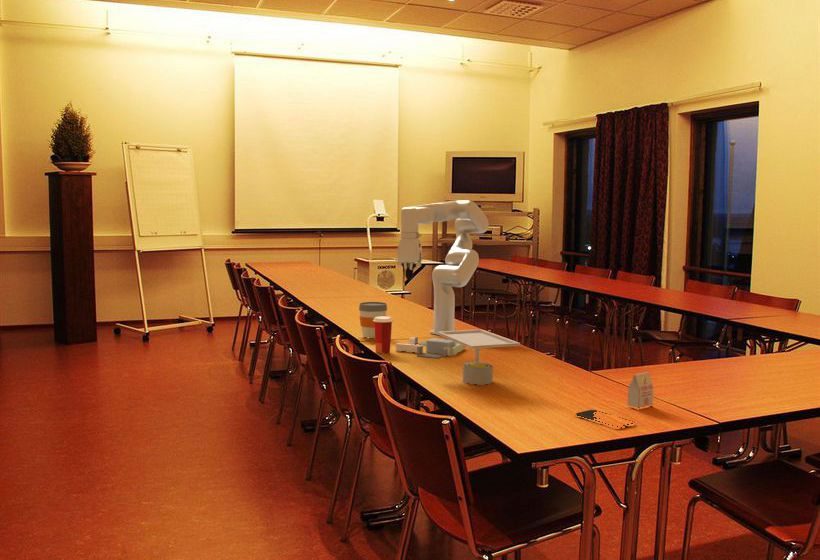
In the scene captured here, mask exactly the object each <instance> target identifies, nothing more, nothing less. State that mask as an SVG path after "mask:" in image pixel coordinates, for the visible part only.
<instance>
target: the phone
mask: <svg viewBox="0 0 820 560" xmlns="http://www.w3.org/2000/svg"><path fill="white" fill-rule="evenodd" d="M597 411H599V412H602V413H605V414H609V413H606V412H605V411H600V410H597V409H589V410H585V411H580V412H579V411H578V412H576V413H575V416H576V415H577V416H581V417H584V418H587V419H591V420H594V418H595V419H597V418H596V417H593V416H594V414H593V413H594V412H597ZM595 414H596V413H595ZM609 415H611V414H609ZM618 417H619V418H622V419H625V420H629V419H626V418H623V417H620V416H618ZM599 419H600V418H599ZM595 421H597V420H595ZM629 421H632V422H634V423H635V424H636V422H635V421H633V420H629ZM598 422H600V421H598ZM602 423H603V422H602ZM605 424H606V423H605ZM631 424H633V423H631ZM608 425H609V424H608ZM627 425H629V424H627ZM612 426H613V425H612ZM623 426H625V425H623ZM617 427H618V426H617Z"/></svg>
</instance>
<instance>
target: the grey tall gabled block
mask: <svg viewBox="0 0 820 560" xmlns="http://www.w3.org/2000/svg"><path fill="white" fill-rule="evenodd" d="M653 404H654V385H653V381H652V379H651V375H650V372H648V371H647V372H643V373H637V374H634V375H633V376H632V379H631V382H630V383H629V385H628V387H627V406H628V405H629V406H633V407H637V408H640V407H645V406H649V405H653Z"/></svg>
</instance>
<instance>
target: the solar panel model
mask: <svg viewBox="0 0 820 560" xmlns="http://www.w3.org/2000/svg"><path fill="white" fill-rule="evenodd" d="M437 334H438V335H437V336H440V337H443V338H444V339H446V340H452V341H454V342H456V343H459V344H461V345H463V346H465V347H466V348H468V349H471V350H474V361H468V362H465V363H463V364H462V382H463V383H465V384H467V383H469V384H468V385H472V384H477V385H476V386H486V385H485V384H488V385H491V384H493V374H494V373H493V371H494V370H493V369H494V367H493V366H494V365H492V364H491V363H488V362H481V361H480V349H486V348H487V349H488V348H503V347H504V348H505V347H520V346H521V342H518V341H515V340H513V339H510V338H507V337H504V336H501V335H499V334H496V333H493V332H491V331H487V330H484V329H481V328H480V329H479V328H478V329H466V330H464V329H463V330H457V331H440V332H437ZM490 383H491V384H490Z"/></svg>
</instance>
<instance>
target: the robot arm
mask: <svg viewBox="0 0 820 560" xmlns="http://www.w3.org/2000/svg"><path fill="white" fill-rule="evenodd" d="M452 220H455V221H454V229H455V230H454V231H455V235H456V236H455V242H454V243H453V245H452V246H451V247H450V249H449V250H448V253H447V254H446V256H445V260H444V261H445V262H444V263H445V264H439V265H437V266H436V267H434V268H433V270H432V273H431V278H432V279H431V280H432V284H433V329H430V331H429V332H430V334H431V333H432V335H435V334H436V336H439V335H438V334H437V332H440V331H458V330H456V329H455V308H456V307H455V306H456V305H455V304H456V303H455V301H456V300H455V298H456V297H455V296H456V295H455V292H454V289H453V288H463V287H465V286H466V285H467V284H468V283H469V281H470V279H471V278H472V276H473V275H474V274H475V271H476V270H477V268H478V266H479V262H480V261H479V260H480V258H479V253H478V252H477V251H476V250H475V249H473V241H472V239H471V237H470V234H478V235H479V234H484V233H485V232H487V231H488V229H489V226H490V223H489V219H488V218H487V216H486V214H485V213H484V212H483V211H482V209H481V208H480V207H479V206H478V204H477V203H475V202H474V201H472V200H468V199H467V200H462V199H461V200H449V201H443V202H436V203H434V202H433V203H429V204H422V205H421V204H420V205H413V206H407V207H406V206H405V207H402V208H401V210H400V239H399V241H398V245H397V253H396V256H397V257H396V258H397V259H396V260H397V265H399V266H402V267H403V269H404V271H405V273H404V275H405V279H406V280H412V279H413V277H414V269H415V268H416V267H419V266H422V261H423V251H422V250H423V249H422V242H421V239H420V238H421V237H422V233H420V232H419V225H429V224H431V223H436V222H437V223H440V222H441V223H443V222H447V221H452Z"/></svg>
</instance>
